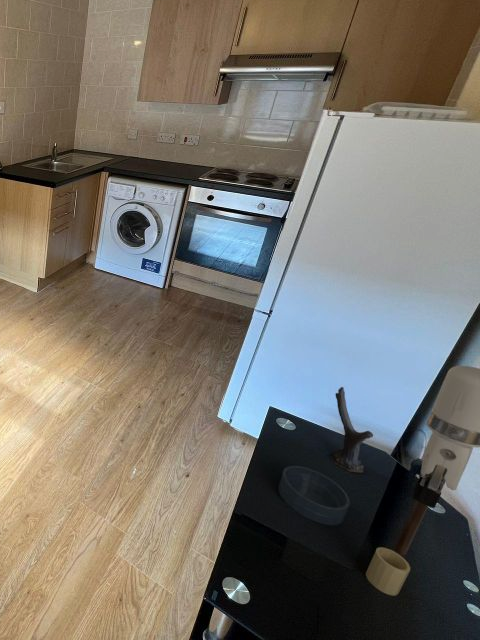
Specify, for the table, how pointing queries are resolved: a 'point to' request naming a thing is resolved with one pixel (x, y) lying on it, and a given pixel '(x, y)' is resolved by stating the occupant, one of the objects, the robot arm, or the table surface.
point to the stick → (410, 527)
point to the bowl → (313, 495)
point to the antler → (349, 439)
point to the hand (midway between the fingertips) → (423, 499)
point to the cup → (387, 571)
